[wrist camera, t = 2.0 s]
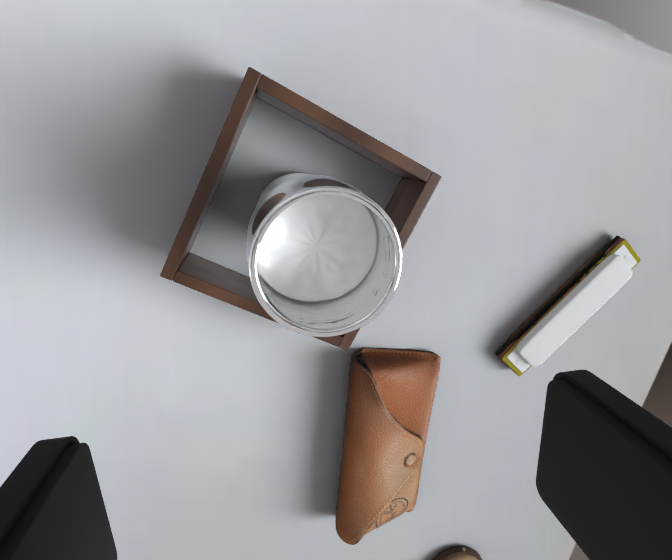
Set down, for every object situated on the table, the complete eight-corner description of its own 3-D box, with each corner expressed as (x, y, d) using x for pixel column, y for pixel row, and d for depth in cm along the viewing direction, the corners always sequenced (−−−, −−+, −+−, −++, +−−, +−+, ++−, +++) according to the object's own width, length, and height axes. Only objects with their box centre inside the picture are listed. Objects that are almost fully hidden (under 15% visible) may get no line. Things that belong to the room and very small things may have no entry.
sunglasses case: (418, 514, 42) (404, 572, 36) (351, 491, 44) (327, 542, 38) (443, 348, 37) (431, 384, 31) (366, 332, 39) (341, 362, 33)
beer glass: (258, 156, 30) (259, 163, 16) (351, 177, 32) (426, 200, 18) (243, 250, 32) (231, 331, 18) (332, 265, 33) (385, 351, 19)
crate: (174, 257, 31) (159, 276, 26) (250, 80, 29) (248, 66, 24) (336, 323, 35) (347, 351, 30) (415, 172, 32) (442, 176, 28)
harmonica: (612, 234, 37) (631, 238, 35) (629, 257, 38) (649, 262, 36) (492, 351, 38) (504, 361, 37) (512, 370, 39) (524, 381, 38)
